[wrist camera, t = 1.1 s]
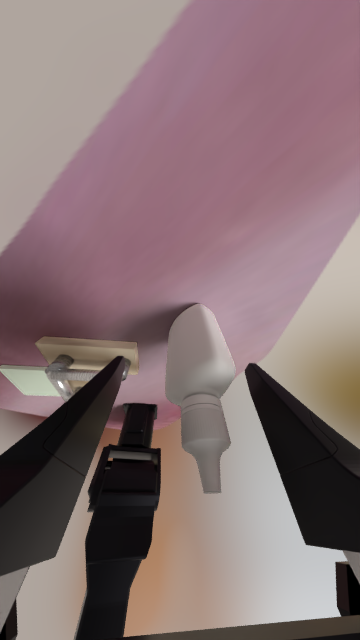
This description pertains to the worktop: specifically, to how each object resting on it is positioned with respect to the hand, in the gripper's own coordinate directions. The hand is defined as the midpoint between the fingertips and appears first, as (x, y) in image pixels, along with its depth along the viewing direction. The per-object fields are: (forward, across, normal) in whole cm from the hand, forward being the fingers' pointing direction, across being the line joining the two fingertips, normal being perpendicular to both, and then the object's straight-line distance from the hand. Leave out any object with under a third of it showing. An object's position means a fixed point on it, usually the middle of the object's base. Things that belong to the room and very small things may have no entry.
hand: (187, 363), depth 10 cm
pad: (+6, +21, +14) cm, 26 cm away
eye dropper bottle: (+6, -1, +1) cm, 7 cm away
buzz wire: (+6, +11, +10) cm, 16 cm away
